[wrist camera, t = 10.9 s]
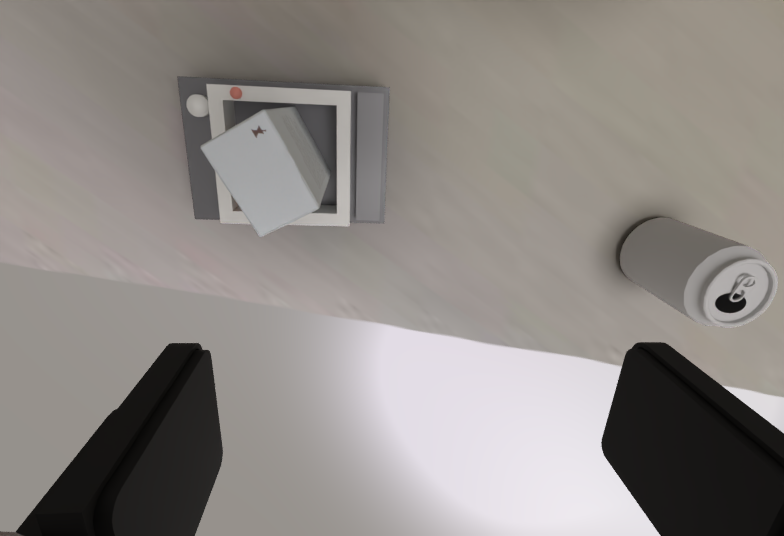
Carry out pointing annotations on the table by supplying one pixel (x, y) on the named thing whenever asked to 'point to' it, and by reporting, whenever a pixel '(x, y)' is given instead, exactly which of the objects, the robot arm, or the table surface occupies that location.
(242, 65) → the table surface
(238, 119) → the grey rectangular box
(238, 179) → the skincare box
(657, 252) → the can
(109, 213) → the table surface
